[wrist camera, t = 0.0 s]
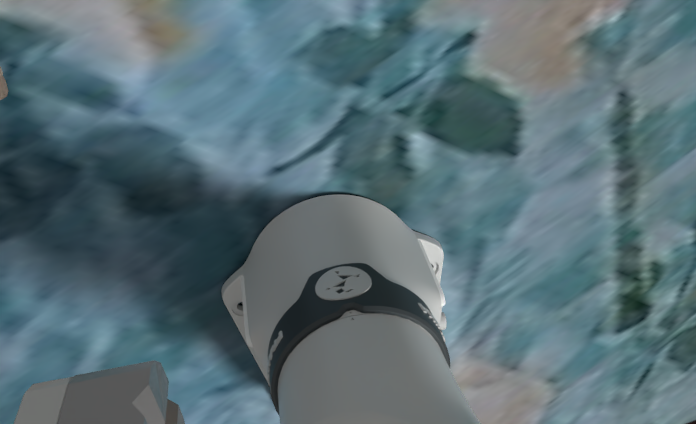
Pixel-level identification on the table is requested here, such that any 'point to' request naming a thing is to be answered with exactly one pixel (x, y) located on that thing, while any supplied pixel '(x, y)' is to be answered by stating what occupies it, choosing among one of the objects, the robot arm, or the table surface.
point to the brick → (3, 86)
